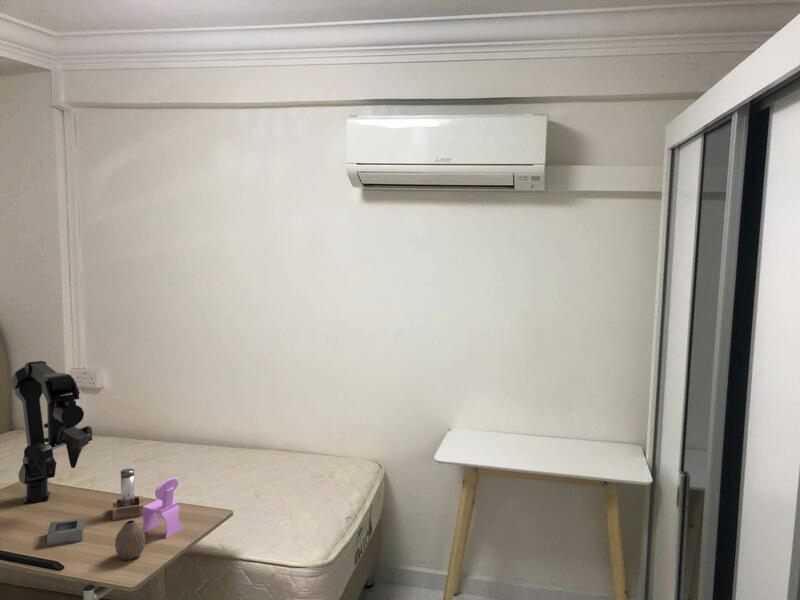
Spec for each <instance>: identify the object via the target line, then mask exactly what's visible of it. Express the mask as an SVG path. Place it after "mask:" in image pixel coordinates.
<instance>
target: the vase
mask: <svg viewBox="0 0 800 600" xmlns="http://www.w3.org/2000/svg"><path fill="white" fill-rule="evenodd" d="M145 546H146V535H145V533H144V532H143V528H141V527H140V526H139V525H138V524H137V522H136V521H135V520H133V519H129V520H126V521H125V522H124V524H123V526H122V527H121V528H120V530H119V531H118V533H117V534H116V537H115V541H114V548H115V553H116V554H117V556H118V557H119V558H120V559H122V560H125V561H129V560H133V559H136V558H138V557H139V556H141V554H142V553H143V551H144V549H145Z"/></svg>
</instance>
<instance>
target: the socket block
mask: <svg viewBox="0 0 800 600" xmlns="http://www.w3.org/2000/svg"><path fill="white" fill-rule="evenodd" d="M84 532H85V517H79V518H72V519H66V520H65V519H64V520H59V521H58V520H57V521H53V522H52V521H51V522H50V523H49V528H48V530H47V533H46V534H47V535H46V539H47V540H46V542H47V544H46V545H47V547H51V546H58V545H65V544H69V542H71V543H77V542H82V541H83V540H84V539H83V538H84V534H85V533H84ZM64 543H65V544H64Z"/></svg>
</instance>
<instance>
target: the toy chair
mask: <svg viewBox="0 0 800 600" xmlns="http://www.w3.org/2000/svg"><path fill="white" fill-rule="evenodd" d="M178 486H179V479H178V478H177V477H170V478H169V479H166V480H165V481H163V482H162V483H160V484H159V485H158V486H157V487H156V489H155V492H154V494H155V497H156V500H154V501H152V502H151V503H148V504H146V505H143V510H142V515H143V516H142V519H143V520H142V523H143V525H142V526H143V527H142V530H143V532H145V533H146V531H147V532H149V531H150V530H152V529H154V528H156V527H158V526H160V525H161V521H160V520H159V519H158V515H157V514H159V515H160V516H161V518H162V519H163V521H164V523H165V539H168V538H170V537H171V535H172V536H173V535H176V532H177V533H178V531H179V532H180V531H183V529H184V528H183V526H182V524H181V522H180V518H179V517H180V516H179V515H180V506H179V502H178V501H176V500H174V492H175V490H176V489H177V488H178ZM159 524H160V525H159ZM157 525H158V526H157ZM155 526H156V527H155ZM153 527H154V528H153ZM151 528H152V529H151ZM149 529H150V530H149ZM148 530H149V531H148ZM169 536H170V537H169Z"/></svg>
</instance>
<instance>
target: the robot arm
mask: <svg viewBox="0 0 800 600" xmlns="http://www.w3.org/2000/svg"><path fill="white" fill-rule="evenodd" d="M11 386H12V389H14V394H15V396H16V397H17V398H18V399H19V400H20V401H21V402H22V410H23V419H24V428H25V434H26V435H25V436H26V444H27V445H26V447H25V448H24V449H23V458H22V465H21V467H20V470H19V471H18V481H19V482H20V483H21V484H23V485H25V488H26V489H25V491H26V494H25V497H24V500H23V504H31V503H37V502H47V501H49V499H50V496H51V491H49V485H48V484H49V483H48V482H49V481H48V480H49V479H51V478H52V479H53V478H55V475H56V468H57V462H56V459H55V458H54V449H58V448H60V447H63V446H66V450H67V455H68V461H69V465H70V467H71V469H75V468H76V466H77V463H78V460H79V457H80V454H81V452H82V449H84V448H85V447H86V446H87V445H89V443H90V441H93V429H92V427H91V426H89V425H87V426H84V427H82V428H81V427H80V428H77V427H76V426H77V425H79V424H80V423H81V422H82V421H83V419H84V415H85V412H84V409H83V408H82V407H81V406H80V405H78V404H77V401H76V400H80V391H79V390H80V389H79V387H78V385H77V383H76V381H75V379H74V377H73V376H72V375H71V374H69V373H67V372H63V373H62V372H57V371H55V370H54V369H53V368H52V367H50V366H49V365H48V364H47V362H46V361H44V360H37V361H36V360H35V361H28V362H25V364H24V366H23V367H21V368H19V369H18V370H16V371H15V372H14V374H13V376H12V378H11ZM42 395H43V396H44V398H45V401H46V403H47V404H46V408H47V409H46V411H47V423H43V416H42V409H41V408H42V407H41V400H40V399H41V397H42ZM43 424H44V425H43ZM44 428H45V429H47V437H45V433H44Z"/></svg>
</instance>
